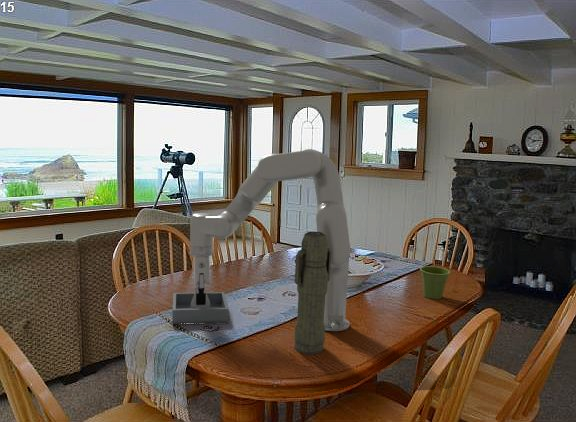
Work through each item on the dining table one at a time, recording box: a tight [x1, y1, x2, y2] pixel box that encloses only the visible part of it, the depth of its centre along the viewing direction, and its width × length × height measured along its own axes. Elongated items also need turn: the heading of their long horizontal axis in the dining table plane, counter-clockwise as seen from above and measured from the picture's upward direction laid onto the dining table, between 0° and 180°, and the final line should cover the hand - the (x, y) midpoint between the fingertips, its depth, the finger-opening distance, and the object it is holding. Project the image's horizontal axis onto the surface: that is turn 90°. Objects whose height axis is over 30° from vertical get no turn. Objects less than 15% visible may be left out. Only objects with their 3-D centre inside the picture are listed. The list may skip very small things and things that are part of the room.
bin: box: [171, 291, 230, 325], centre depth 179 cm, size 18×18×5 cm
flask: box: [190, 283, 211, 309], centre depth 178 cm, size 7×7×10 cm
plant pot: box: [419, 265, 451, 300], centre depth 211 cm, size 12×12×11 cm
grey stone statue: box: [293, 231, 331, 355], centre depth 153 cm, size 9×12×35 cm
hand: (200, 301), depth 179 cm, fingers closed on flask, 4 cm apart
